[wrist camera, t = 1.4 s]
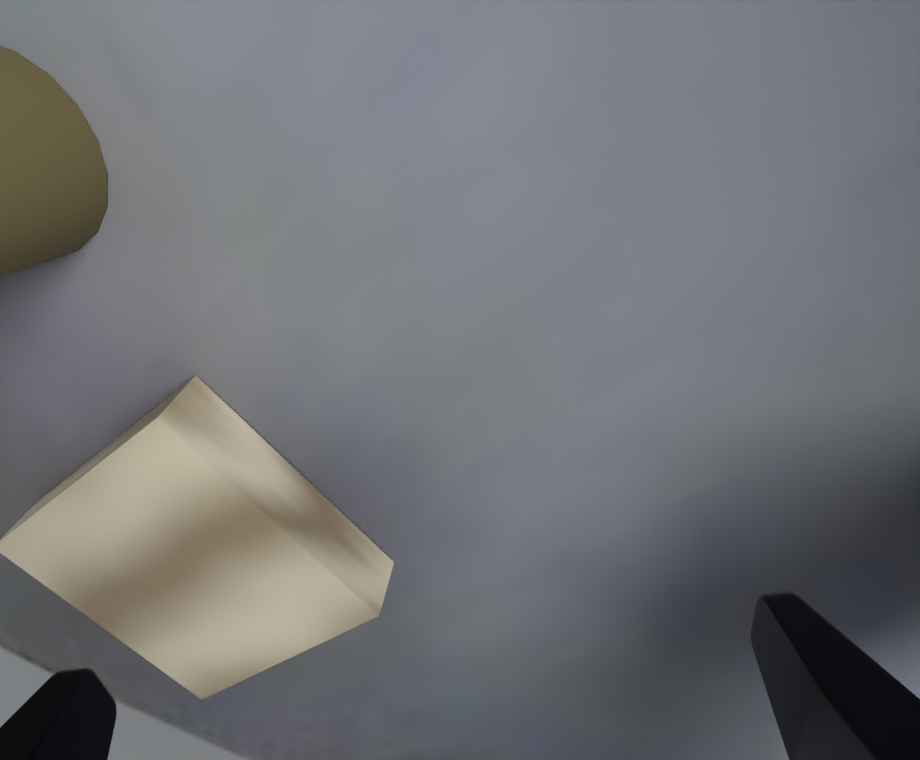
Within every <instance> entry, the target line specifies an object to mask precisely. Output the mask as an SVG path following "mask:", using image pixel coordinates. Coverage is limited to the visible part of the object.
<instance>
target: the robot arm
mask: <svg viewBox="0 0 920 760" xmlns="http://www.w3.org/2000/svg"><path fill="white" fill-rule="evenodd" d="M751 641H752V646H753V650H754V653H755V656H756V659H757V663H758V666H759V669H760V672H761V675H762V678H763V681H764V684H765V687H766V690H767V693H768V696H769V699H770V702H771V705H772V709H773V712H774V715H775V718H776V721H777V724H778V727H779V730H780V733H781V736H782V739H783V742H784V745H785V748H786V751H787V754H788V757H789V760H920V699H919V698H918V697H916V696H915V695H914V694H913V693H912V692H911V691H909V690H908V689H907V688H906V687H905V686H904V685H902V684H901V683H900V682H899V681H898V680H896V679H895V678H894V677H893V676H892V675H891V674H889V673H888V672H887V671H886V670H885V669H883V668H882V667H881V666H880V665H879V664H878V663H876V662H875V661H874V660H873V659H872V658H870V657H869V656H868V655H867V654H866V653H865V652H863V651H862V650H861V649H860V648H859V647H858V646H856V645H855V644H854V643H853V642H852V641H850V640H849V639H848V638H847V637H846V636H845V635H843V634H842V633H841V632H840V631H839V630H837V629H836V628H835V627H834V626H833V625H832V624H830V623H829V622H828V621H827V620H826V619H825V618H823V617H822V616H821V615H820V614H819V613H817V612H816V611H815V610H814V609H813V608H812V607H810V606H809V605H808V604H807V603H806V602H804V601H803V600H802V599H801V598H800V597H799V596H797V595H796V594H794V593H792V592H788V591H782V592H773V593H764V594H761V595H760V596H759V597H758V599H757V603H756V608H755V613H754V618H753V624H752V629H751ZM115 721H116V703H115V700H114V698H113V696H112V695H111V694H110V692H109V691H108V689H107V688H106V687H105V685H104V684H103V683H102V681H101V680H100V678H99V677H98V676H97V674H96V673H95V672H94V671H93V670H92V669H90V668H86V667H85V668H75V669H66V670H62V671H59V672H57V673H56V674H54V675H53V676H52V677H51V678H49V680H47V681H46V682H45V683H44V684H43V685H42V686H41V687H40V688H39V689H38V690H37V691H36V692H35V694H33V695H32V696H31V697H30V698H29V700H27V701H26V703H24V704H23V705H22V706H21V707H20V708H19V709H18V710H17V711H16V712H15V714H13V715H12V716H11V717H10V718H9V719H8V720H7V721H6V723H4V724H3V725H2V726H1V728H0V760H107V759H108V754H109V749H110V744H111V740H112V735H113V730H114V725H115Z"/></svg>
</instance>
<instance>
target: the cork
mask: <svg viewBox="0 0 920 760" xmlns="http://www.w3.org/2000/svg"><path fill="white" fill-rule="evenodd" d="M107 206H108V173H107V170H106V167H105V163H104V160H103V156H102V153H101V149H100V146H99V142H98V139H97V138H96V136H95V134H94V132H93V131H92V129H91V127H90V126H89V124H88V122H87V120H86V119H85V117H84V115H83V113H82V112H81V110H80V108H79V107H78V105H77V104H76V103H75V102H74V101H73V99H72V98H71V97H70V96H69V95H68V94H67V93H66V92H65V91H64V90H63V89H62V88H61V87H60V85H59V84H58V83H57V82H56V81H55V80H54V79H53V78H52V77H51V76H50V75H49V74H48V73H47V72H45V71H44V70H42V69H41V68H39V67H38V66H36V65H35V64H33V63H32V62H30V61H29V60H27V59H26V58H24V57H23V56H21V55H20V54H18V53H17V52H15V51H13V50H10V49H7V48H4V47H1V46H0V276H3V275H6V274H9V273H12V272H15V271H17V270H20V269H23V268H26V267H29V266H32V265H35V264H38V263H41V262H44V261H47V260H50V259H53V258H56V257H59V256H62V255H65V254H67V253H70V252H73V251H76V250H79V249H80V248H81V247H82V246H83V245H85V244H86V243H87V242H88V241H89V240H90V239H91V238H92V237H93V236H94V235H95V234H96V233H97V232H98V230H99V227H100V225H101V222H102V219H103V217H104V214H105V212H106V209H107Z"/></svg>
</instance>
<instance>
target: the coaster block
mask: <svg viewBox="0 0 920 760" xmlns="http://www.w3.org/2000/svg"><path fill="white" fill-rule="evenodd" d="M0 553H1V554H2V555H4V556H5V557H6V558H8V559H9V560H10V561H12V562H13V563H15V564H16V565H17V566H19V567H20V568H21V569H23V570H24V571H26V572H27V573H28V574H30V575H31V576H32V577H34V578H35V579H37V580H38V581H39V582H41V583H42V584H43V585H45V586H46V587H48V588H49V589H50V590H52V591H53V592H54V593H56V594H57V595H59V596H60V597H61V598H63V599H64V600H65V601H67V602H68V603H69V604H71V605H72V606H74V607H75V608H76V609H78V610H79V611H80V612H82V613H83V614H85V615H86V616H87V617H89V618H90V619H91V620H93V621H94V622H96V623H97V624H98V625H100V626H101V627H102V628H104V629H105V630H107V631H108V632H109V633H111V634H112V635H113V636H115V637H116V638H117V639H119V640H120V641H122V642H123V643H124V644H126V645H127V646H128V647H130V648H131V649H133V650H134V651H135V652H137V653H138V654H139V655H141V656H142V657H144V658H145V659H146V660H148V661H149V662H150V663H152V664H153V665H155V666H156V667H157V668H159V669H160V670H161V671H163V672H164V673H166V674H167V675H168V676H170V677H171V678H172V679H174V680H175V681H176V682H178V683H179V684H181V685H182V686H183V687H185V688H186V689H187V690H189V691H190V692H192V693H193V694H194V695H196V696H197V697H198V698H200V699H201V700H203V699H205V698H207V697H209V696H211V695H213V694H215V693H217V692H220V691H222V690H224V689H226V688H228V687H230V686H232V685H234V684H236V683H239V682H241V681H243V680H245V679H247V678H249V677H251V676H253V675H255V674H258V673H260V672H262V671H264V670H266V669H268V668H270V667H272V666H274V665H277V664H279V663H281V662H283V661H285V660H287V659H289V658H291V657H293V656H296V655H298V654H300V653H302V652H304V651H306V650H308V649H310V648H312V647H315V646H317V645H319V644H321V643H323V642H325V641H327V640H329V639H331V638H334V637H336V636H338V635H340V634H342V633H344V632H346V631H348V630H350V629H353V628H355V627H357V626H359V625H361V624H363V623H365V622H367V621H369V620H372V619H374V618H376V617H378V616H379V615H380V612H381V608H382V604H383V601H384V597H385V594H386V590H387V586H388V583H389V579H390V576H391V572H392V568H393V565H394V562H393V561H392V560H391V559H390V558H389V557H388V556H387V555H386V554H385V553H384V552H383V551H382V550H381V549H379V548H378V547H377V546H376V545H375V544H374V543H373V542H372V541H371V540H370V539H369V538H368V537H367V536H366V535H365V534H364V533H362V532H361V531H360V530H359V529H358V528H357V527H356V526H355V525H354V524H353V523H352V522H351V521H350V520H349V519H348V518H347V517H346V516H344V515H343V514H342V513H341V512H340V511H339V510H338V509H337V508H336V507H335V506H334V505H333V504H332V503H331V502H330V501H329V500H327V499H326V498H325V497H324V496H323V495H322V494H321V493H320V492H319V491H318V490H317V489H316V488H315V487H314V486H313V485H312V484H310V483H309V482H308V481H307V480H306V479H305V478H304V477H303V476H302V475H301V474H300V473H299V472H298V471H297V470H296V469H295V468H294V467H292V466H291V465H290V464H289V463H288V462H287V461H286V460H285V459H284V458H283V457H282V456H281V455H280V454H279V453H278V452H277V451H275V450H274V449H273V448H272V447H271V446H270V445H269V444H268V443H267V442H266V441H265V440H264V439H263V438H262V437H261V436H260V435H259V434H257V433H256V432H255V431H254V430H253V429H252V428H251V427H250V426H249V425H248V424H247V423H246V422H245V421H244V420H243V419H242V418H240V417H239V416H238V415H237V414H236V413H235V412H234V411H233V410H232V409H231V408H230V407H229V406H228V405H227V404H226V403H225V402H223V401H222V400H221V399H220V398H219V397H218V396H217V395H216V394H215V393H214V392H213V391H212V390H211V389H210V388H209V387H208V386H207V385H205V384H204V383H203V382H202V381H201V380H200V379H199V378H198V377H197V376H196V375H195V376H194V377H193V378H192V379H190V380H189V381H188V382H187V383H185V384H184V385H183V386H182V387H180V388H179V389H178V390H177V391H175V392H174V393H173V394H172V395H170V396H169V397H168V398H167V399H165V400H164V401H163V402H162V403H160V404H159V405H158V406H156V407H155V408H154V409H153V410H151V411H150V412H149V413H148V414H146V415H145V416H144V417H143V418H141V419H140V420H139V421H138V422H136V423H135V424H134V425H133V426H131V427H130V428H129V429H128V430H126V431H125V432H124V433H123V434H121V435H120V436H119V437H118V438H116V439H115V440H114V441H113V442H111V443H110V444H109V445H108V446H106V447H105V448H104V449H103V450H101V451H100V452H99V453H98V454H96V455H95V456H94V457H92V458H91V459H90V460H89V461H87V462H86V463H85V464H84V465H82V466H81V467H80V468H79V469H77V470H76V471H75V472H74V473H72V474H71V475H70V476H69V477H67V478H66V479H65V480H64V481H62V482H61V483H60V484H59V485H57V486H56V487H55V488H54V489H52V490H51V491H50V492H49V493H47V494H46V495H45V496H44V497H42V498H41V499H40V500H39V501H37V502H36V503H35V504H34V506H33V507H32V508H31V509H30V510H29V511H28V512H27V513H26V514H25V515H24V516H23V517H22V518H21V519H20V520H19V521H18V522H17V523H16V524H15V525H14V526H13V527H12V528H11V529H10V530H9V531H8V532H7V533H6V534H5V535H4V536H3V537H2V538H1V539H0Z"/></svg>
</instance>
